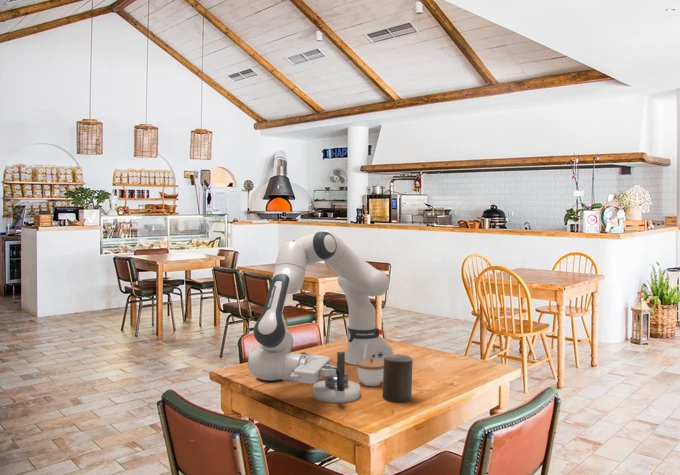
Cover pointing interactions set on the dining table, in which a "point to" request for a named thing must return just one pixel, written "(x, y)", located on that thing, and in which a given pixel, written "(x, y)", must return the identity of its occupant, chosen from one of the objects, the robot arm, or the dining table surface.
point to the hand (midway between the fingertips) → (337, 371)
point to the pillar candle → (397, 378)
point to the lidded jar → (370, 371)
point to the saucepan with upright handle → (338, 377)
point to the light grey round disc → (330, 396)
